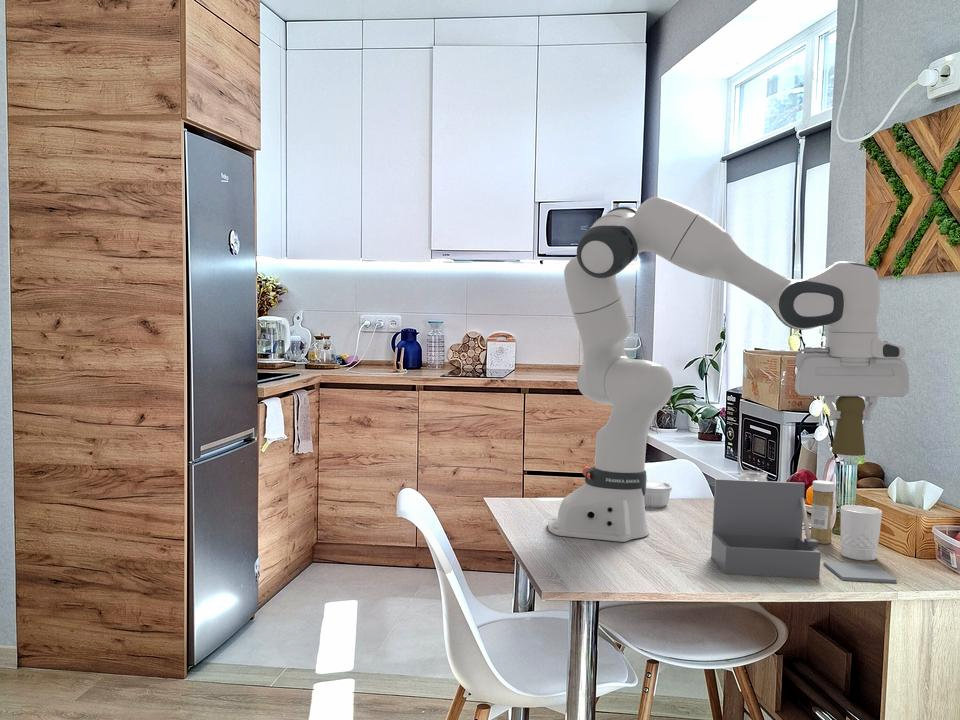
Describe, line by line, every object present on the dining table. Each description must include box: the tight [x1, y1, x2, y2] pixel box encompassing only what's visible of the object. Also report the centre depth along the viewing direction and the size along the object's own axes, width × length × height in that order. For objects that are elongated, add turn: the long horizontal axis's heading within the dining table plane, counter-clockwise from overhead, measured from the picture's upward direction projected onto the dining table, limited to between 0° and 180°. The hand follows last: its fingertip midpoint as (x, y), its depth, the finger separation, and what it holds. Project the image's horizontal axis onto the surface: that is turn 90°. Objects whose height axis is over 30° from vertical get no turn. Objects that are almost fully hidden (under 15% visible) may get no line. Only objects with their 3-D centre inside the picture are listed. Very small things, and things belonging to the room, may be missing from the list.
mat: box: [822, 561, 898, 584], centre depth 164 cm, size 10×10×1 cm
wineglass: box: [737, 469, 769, 481], centre depth 204 cm, size 7×7×12 cm
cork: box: [831, 396, 866, 457], centre depth 162 cm, size 6×6×11 cm
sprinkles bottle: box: [810, 479, 836, 545], centre depth 187 cm, size 5×5×13 cm
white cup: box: [839, 504, 883, 562], centre depth 176 cm, size 8×8×10 cm
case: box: [710, 478, 822, 580], centre depth 165 cm, size 18×12×16 cm, turn 87°
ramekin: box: [644, 479, 673, 508], centre depth 221 cm, size 11×11×5 cm
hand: (849, 419), depth 161 cm, fingers closed on cork, 4 cm apart
